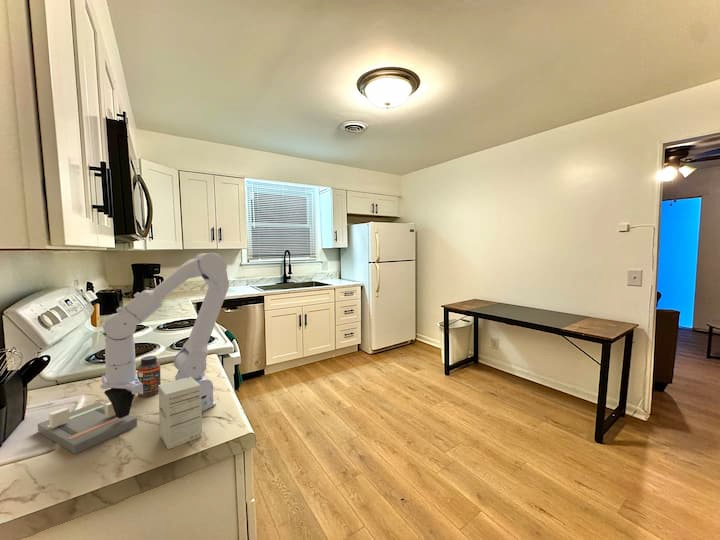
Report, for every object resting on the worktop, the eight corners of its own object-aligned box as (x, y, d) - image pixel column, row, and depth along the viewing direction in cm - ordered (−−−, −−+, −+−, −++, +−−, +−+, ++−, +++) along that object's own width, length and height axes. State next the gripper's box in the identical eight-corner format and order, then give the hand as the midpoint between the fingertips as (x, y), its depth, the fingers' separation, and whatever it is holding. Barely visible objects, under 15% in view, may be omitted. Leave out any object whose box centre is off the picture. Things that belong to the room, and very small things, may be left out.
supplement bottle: (141, 399, 89) (140, 362, 88) (135, 394, 92) (133, 358, 92) (164, 392, 93) (163, 356, 93) (157, 387, 97) (155, 353, 97)
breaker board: (137, 425, 75) (136, 417, 75) (75, 454, 64) (74, 444, 64) (98, 409, 83) (98, 401, 83) (38, 431, 72) (37, 423, 72)
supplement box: (159, 436, 70) (157, 384, 70) (193, 424, 76) (192, 375, 75) (166, 451, 65) (164, 394, 64) (203, 436, 70) (201, 384, 70)
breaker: (69, 421, 72) (68, 408, 72) (52, 428, 70) (52, 414, 70) (66, 420, 73) (65, 407, 73) (49, 426, 70) (49, 413, 70)
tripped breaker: (122, 412, 77) (121, 400, 77) (108, 418, 74) (107, 405, 74) (118, 410, 77) (118, 398, 77) (105, 416, 75) (104, 404, 75)
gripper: (85, 362, 73) (88, 416, 73) (117, 372, 66) (120, 431, 67) (119, 354, 79) (121, 404, 80) (151, 362, 73) (153, 416, 73)
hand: (122, 415), depth 74 cm, fingers closed
